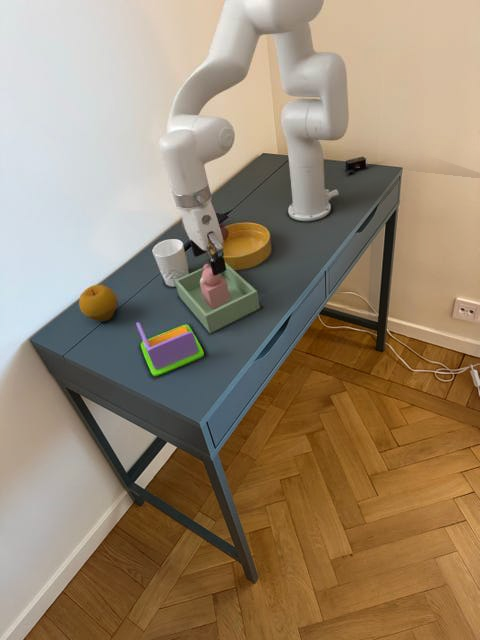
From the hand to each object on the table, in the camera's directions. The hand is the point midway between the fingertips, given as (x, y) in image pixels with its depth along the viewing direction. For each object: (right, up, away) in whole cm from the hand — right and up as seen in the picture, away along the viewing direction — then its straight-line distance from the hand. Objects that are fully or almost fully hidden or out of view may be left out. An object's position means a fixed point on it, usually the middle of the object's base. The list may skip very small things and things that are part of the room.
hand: (209, 263), depth 105 cm
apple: (-27, -12, +10) cm, 31 cm away
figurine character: (-2, +11, +31) cm, 33 cm away
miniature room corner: (-8, -20, -3) cm, 22 cm away
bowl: (+7, +6, +22) cm, 24 cm away
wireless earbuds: (+45, +37, +48) cm, 75 cm away
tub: (+2, -9, +7) cm, 11 cm away
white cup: (-10, -2, +17) cm, 20 cm away
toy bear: (+1, -8, +7) cm, 11 cm away
